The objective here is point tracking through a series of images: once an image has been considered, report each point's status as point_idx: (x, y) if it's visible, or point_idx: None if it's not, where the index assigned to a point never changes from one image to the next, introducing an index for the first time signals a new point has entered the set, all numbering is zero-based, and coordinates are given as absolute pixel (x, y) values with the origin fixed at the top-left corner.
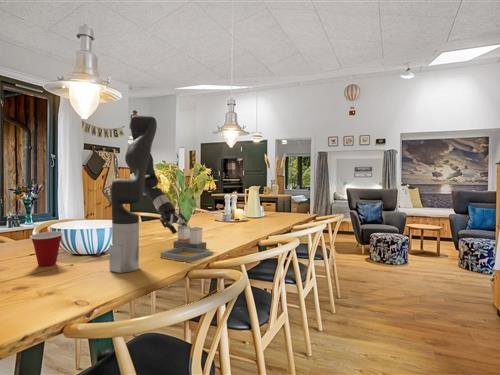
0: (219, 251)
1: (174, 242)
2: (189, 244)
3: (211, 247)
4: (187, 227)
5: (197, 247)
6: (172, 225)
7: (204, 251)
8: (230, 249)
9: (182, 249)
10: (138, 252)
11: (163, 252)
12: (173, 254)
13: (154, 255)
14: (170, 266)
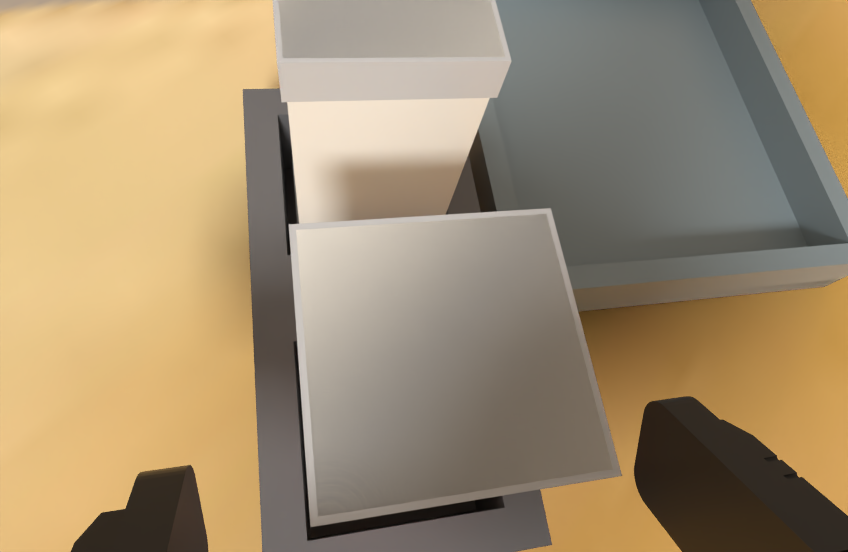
0: (181, 47)
1: (539, 520)
2: (475, 203)
3: (12, 247)
4: (424, 223)
5: None
6: (833, 543)
7: None
8: (4, 13)
9: None
10: None
11: None
12: (799, 103)
13: (839, 447)
14: (843, 47)
